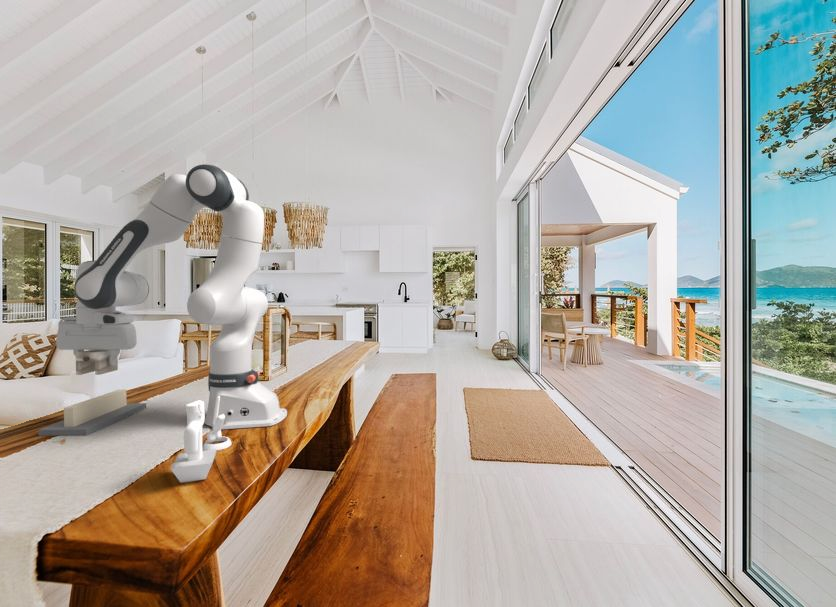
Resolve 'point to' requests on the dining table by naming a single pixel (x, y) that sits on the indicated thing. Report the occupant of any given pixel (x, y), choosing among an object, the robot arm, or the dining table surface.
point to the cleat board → (92, 422)
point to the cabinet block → (94, 362)
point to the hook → (216, 436)
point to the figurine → (193, 448)
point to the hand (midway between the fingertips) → (97, 365)
